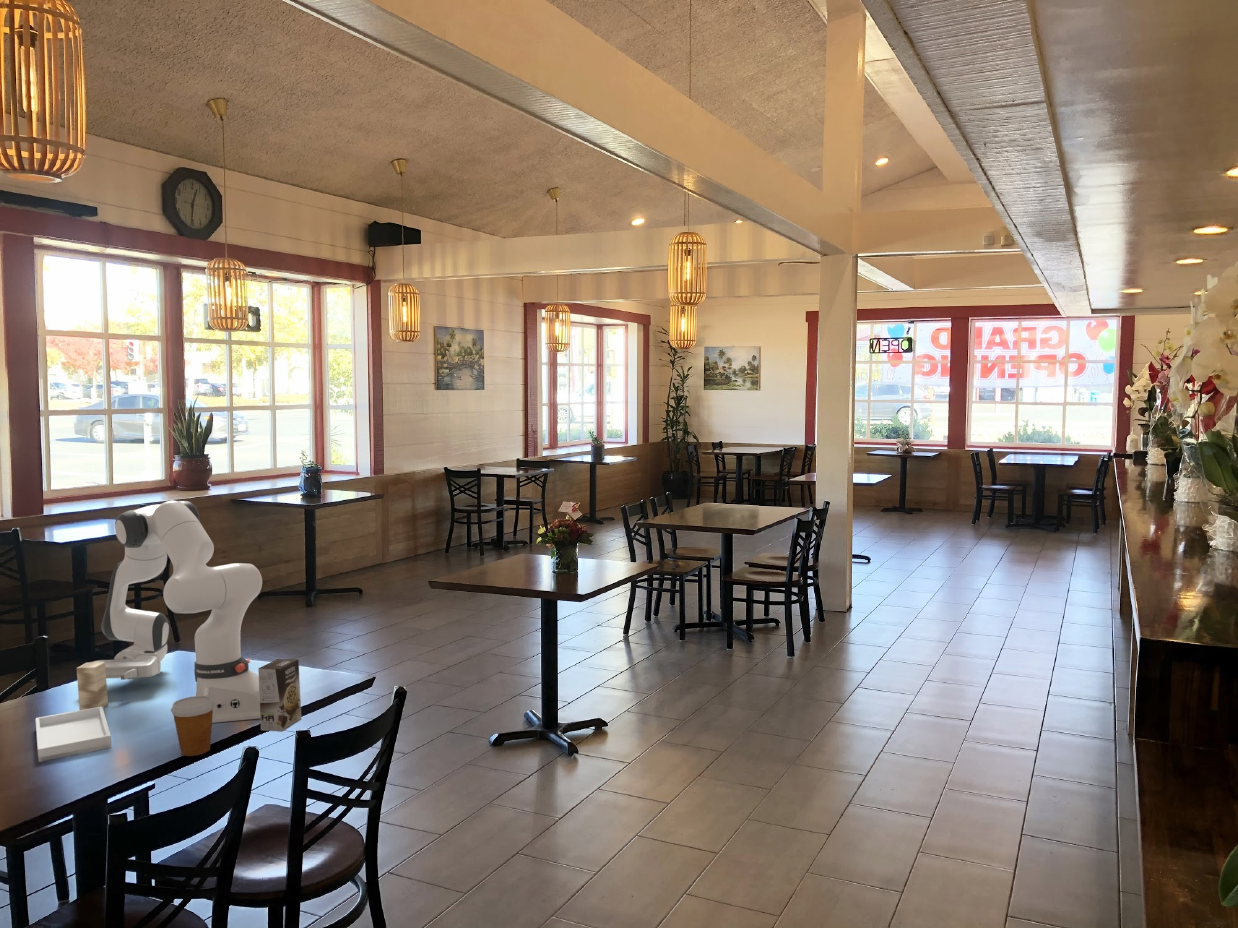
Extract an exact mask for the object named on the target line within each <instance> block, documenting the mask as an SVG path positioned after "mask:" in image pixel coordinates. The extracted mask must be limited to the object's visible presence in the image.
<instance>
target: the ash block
mask: <svg viewBox="0 0 1238 928" xmlns="http://www.w3.org/2000/svg"><path fill="white" fill-rule="evenodd" d="M76 678H77V693H78V708H79V710H84V709H90V708H95V707H101V706H102V707H104V708H105V707H106V706H108V705H109V700H108V685H107V678H106V668H105V662H94V661H90V662H85V663H83V664H82V665H80V666H77V667H76Z"/></svg>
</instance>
